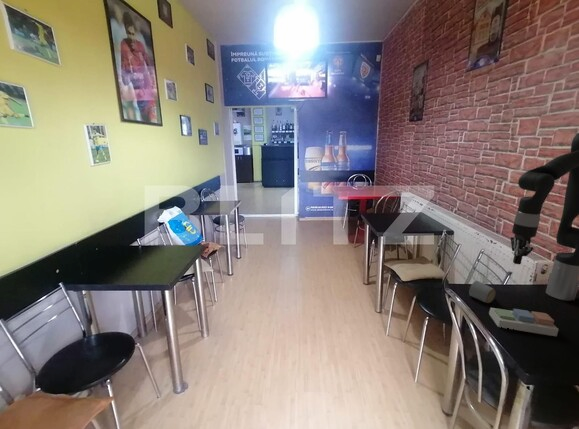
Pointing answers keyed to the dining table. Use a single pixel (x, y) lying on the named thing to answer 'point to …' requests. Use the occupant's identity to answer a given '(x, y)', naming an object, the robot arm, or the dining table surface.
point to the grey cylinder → (482, 292)
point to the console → (523, 325)
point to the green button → (504, 314)
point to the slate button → (523, 315)
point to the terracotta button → (542, 318)
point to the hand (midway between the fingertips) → (516, 263)
